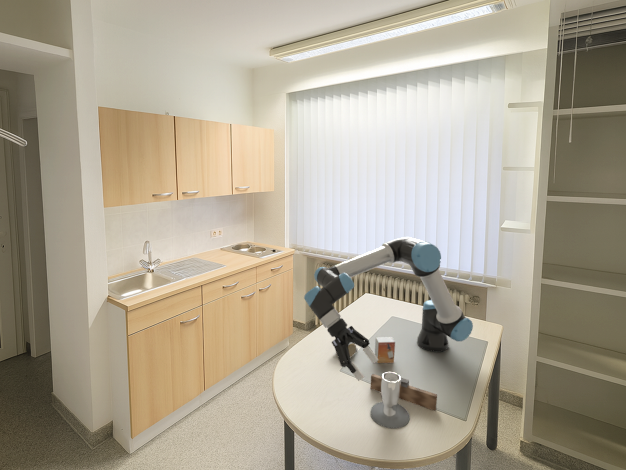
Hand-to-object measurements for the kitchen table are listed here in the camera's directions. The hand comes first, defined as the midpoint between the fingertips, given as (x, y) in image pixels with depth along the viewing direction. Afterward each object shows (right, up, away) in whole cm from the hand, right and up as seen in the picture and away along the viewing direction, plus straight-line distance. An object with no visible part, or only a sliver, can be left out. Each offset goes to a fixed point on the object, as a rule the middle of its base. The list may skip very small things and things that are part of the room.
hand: (369, 370), depth 139 cm
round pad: (+8, -16, -1) cm, 18 cm away
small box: (+13, -9, +37) cm, 40 cm away
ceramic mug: (-4, -7, +43) cm, 43 cm away
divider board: (+14, -14, +8) cm, 22 cm away
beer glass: (+7, -16, -1) cm, 17 cm away
